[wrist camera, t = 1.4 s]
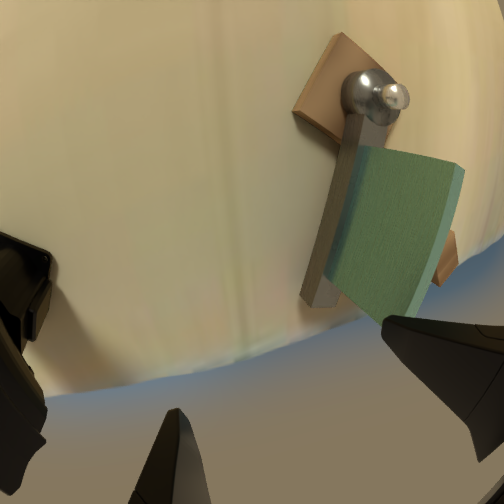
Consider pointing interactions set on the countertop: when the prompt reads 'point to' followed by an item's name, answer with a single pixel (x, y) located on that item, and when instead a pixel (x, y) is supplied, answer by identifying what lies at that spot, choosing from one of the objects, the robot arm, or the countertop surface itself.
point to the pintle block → (332, 86)
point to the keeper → (446, 260)
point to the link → (380, 210)
